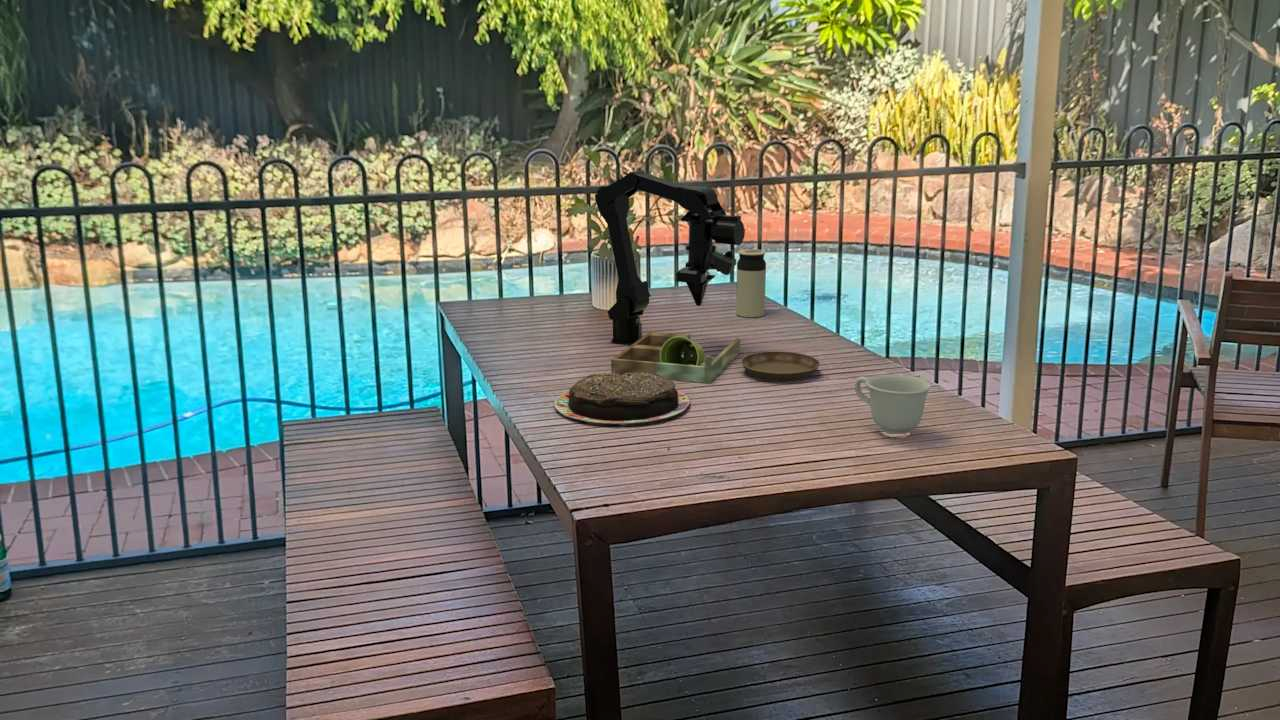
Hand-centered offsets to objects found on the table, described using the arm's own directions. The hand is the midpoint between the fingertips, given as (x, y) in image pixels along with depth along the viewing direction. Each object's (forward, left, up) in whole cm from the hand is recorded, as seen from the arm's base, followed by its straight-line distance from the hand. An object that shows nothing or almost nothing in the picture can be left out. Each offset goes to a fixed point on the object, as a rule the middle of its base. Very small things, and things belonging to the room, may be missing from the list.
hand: (698, 305), depth 261 cm
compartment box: (-2, -11, -12) cm, 16 cm away
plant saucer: (+23, -12, -12) cm, 29 cm away
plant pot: (+3, -14, -9) cm, 17 cm away
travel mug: (+3, +44, -12) cm, 45 cm away
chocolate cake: (-3, -47, -12) cm, 48 cm away
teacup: (+51, -46, -12) cm, 70 cm away
